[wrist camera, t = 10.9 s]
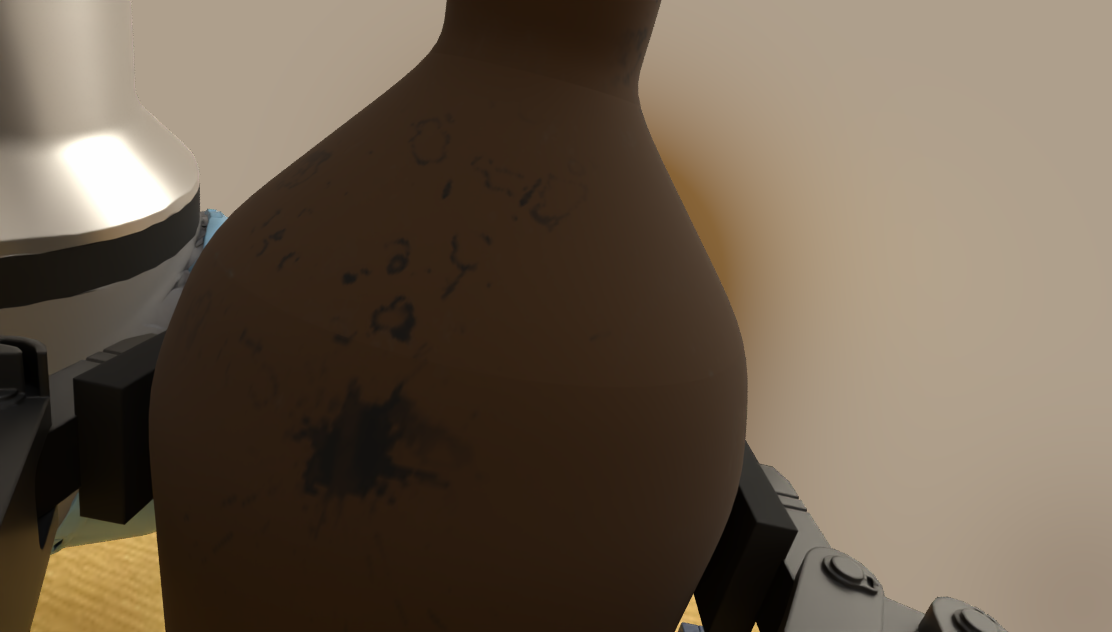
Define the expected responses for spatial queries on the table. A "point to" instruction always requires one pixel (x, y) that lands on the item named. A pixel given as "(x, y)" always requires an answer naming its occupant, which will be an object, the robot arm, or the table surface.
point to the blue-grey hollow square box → (690, 628)
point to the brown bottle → (456, 360)
